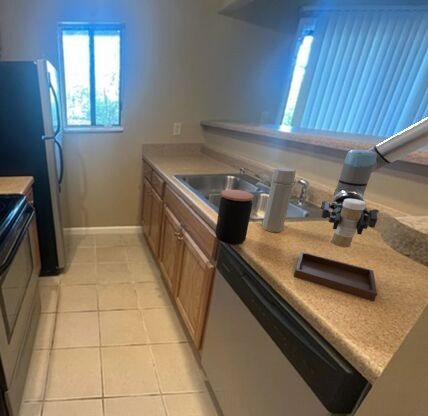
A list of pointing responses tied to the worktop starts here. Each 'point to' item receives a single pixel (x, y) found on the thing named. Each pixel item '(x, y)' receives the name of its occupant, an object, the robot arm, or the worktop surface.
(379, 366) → the worktop surface
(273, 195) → the grey thermos flask
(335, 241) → the sprinkles bottle
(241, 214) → the coffee jar
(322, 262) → the tray
